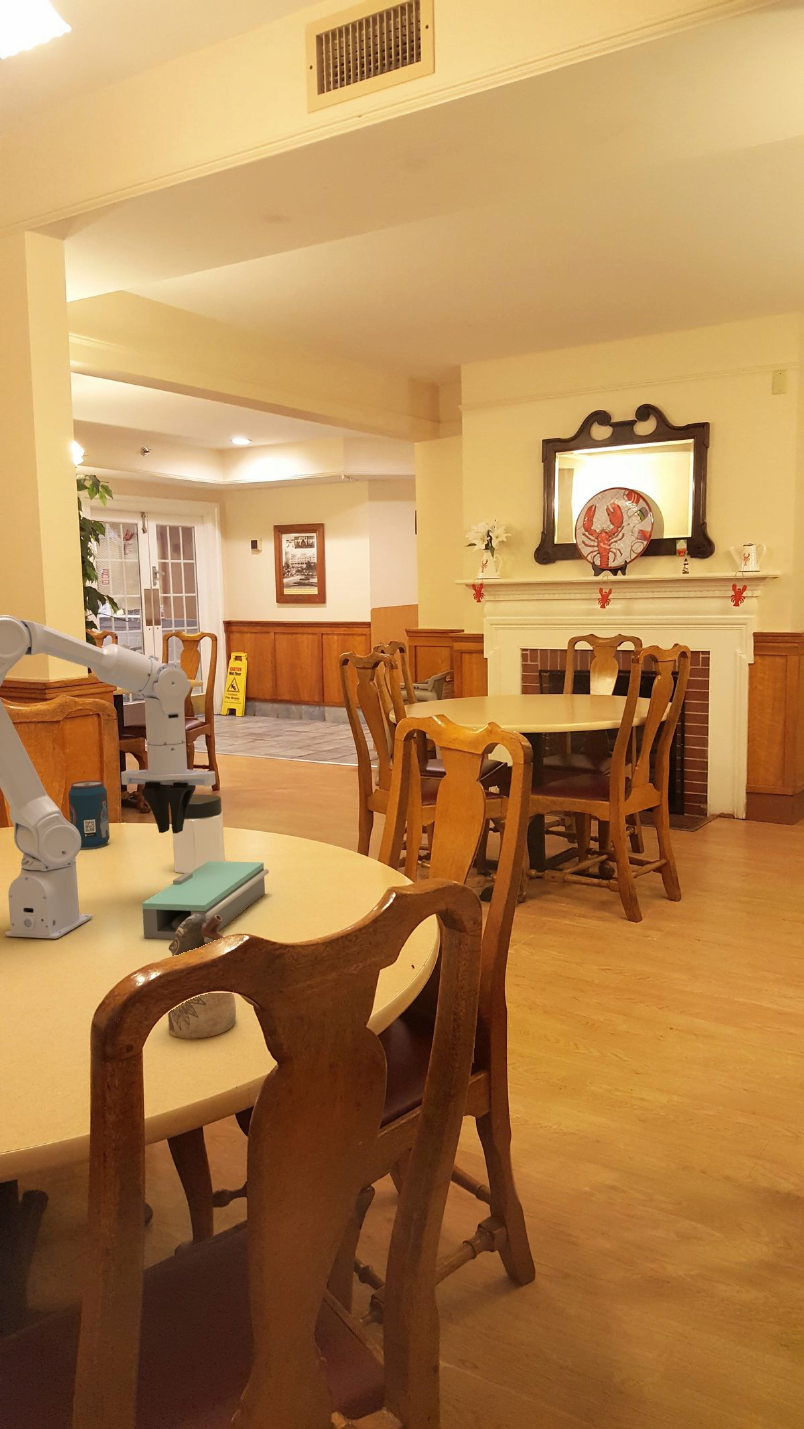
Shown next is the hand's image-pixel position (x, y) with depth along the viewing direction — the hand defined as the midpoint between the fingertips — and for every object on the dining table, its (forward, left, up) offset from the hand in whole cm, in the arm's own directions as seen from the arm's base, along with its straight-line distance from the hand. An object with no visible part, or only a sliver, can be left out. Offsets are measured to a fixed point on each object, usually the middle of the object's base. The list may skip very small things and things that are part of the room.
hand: (170, 831), depth 151 cm
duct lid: (-7, -9, -6) cm, 13 cm away
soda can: (+30, +31, -11) cm, 45 cm away
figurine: (-43, -24, -11) cm, 50 cm away
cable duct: (-7, -9, -10) cm, 15 cm away
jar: (+17, +3, -11) cm, 20 cm away
